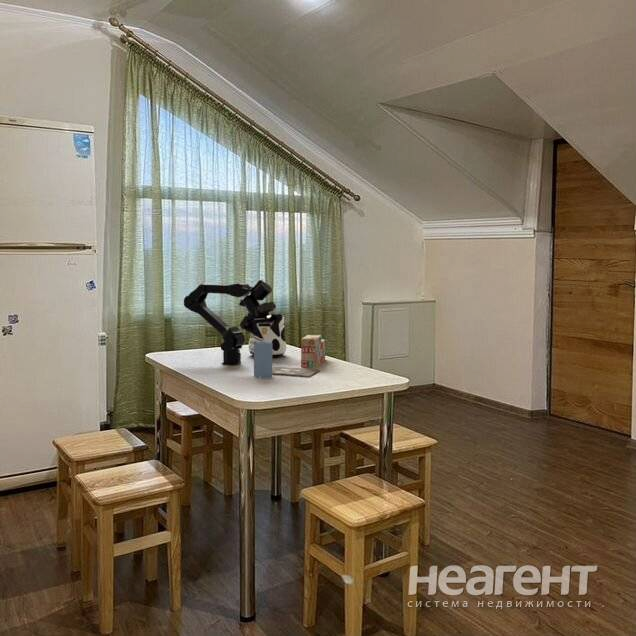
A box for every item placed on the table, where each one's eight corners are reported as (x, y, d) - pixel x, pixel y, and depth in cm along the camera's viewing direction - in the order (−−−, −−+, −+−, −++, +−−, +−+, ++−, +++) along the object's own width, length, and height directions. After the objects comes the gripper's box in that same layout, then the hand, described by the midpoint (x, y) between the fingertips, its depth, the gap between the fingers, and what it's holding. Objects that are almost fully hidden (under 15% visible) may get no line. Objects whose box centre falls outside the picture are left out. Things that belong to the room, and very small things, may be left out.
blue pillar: (253, 376, 249) (254, 342, 248) (264, 374, 253) (264, 341, 251) (261, 378, 246) (262, 344, 244) (272, 376, 249) (272, 343, 248)
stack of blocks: (311, 359, 292) (312, 332, 291) (325, 359, 291) (325, 332, 290) (300, 367, 271) (301, 338, 270) (315, 368, 270) (315, 338, 269)
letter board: (260, 373, 255) (260, 372, 255) (273, 367, 268) (273, 366, 268) (309, 377, 249) (309, 375, 249) (319, 371, 262) (320, 369, 262)
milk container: (243, 357, 292) (243, 318, 291) (255, 352, 309) (255, 314, 307) (279, 359, 288) (280, 319, 287) (290, 354, 305) (291, 316, 303)
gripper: (244, 295, 257) (261, 326, 250) (280, 294, 270) (297, 323, 263) (232, 313, 263) (248, 344, 257) (268, 311, 276) (284, 340, 269)
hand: (270, 337), depth 261 cm, fingers open, 9 cm apart
